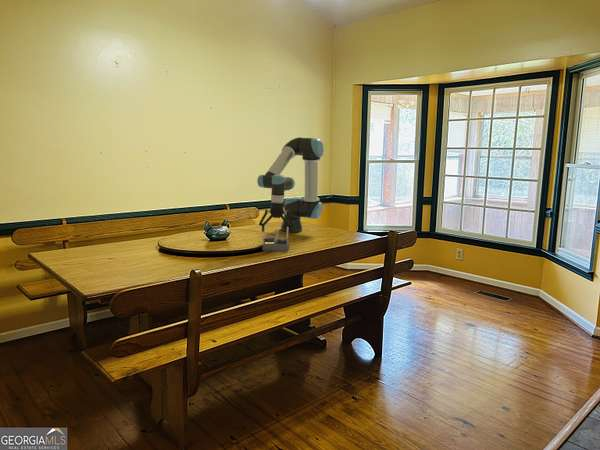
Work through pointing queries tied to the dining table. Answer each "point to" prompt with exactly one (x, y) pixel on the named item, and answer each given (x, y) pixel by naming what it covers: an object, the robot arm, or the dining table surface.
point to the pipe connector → (276, 237)
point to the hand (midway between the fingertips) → (275, 237)
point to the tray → (275, 245)
